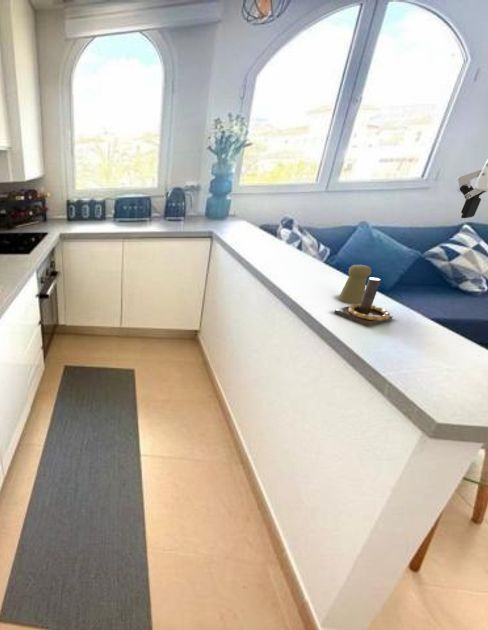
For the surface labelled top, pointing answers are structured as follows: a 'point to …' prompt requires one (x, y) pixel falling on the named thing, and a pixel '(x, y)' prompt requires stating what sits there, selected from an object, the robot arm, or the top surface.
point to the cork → (355, 284)
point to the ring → (368, 317)
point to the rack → (365, 305)
